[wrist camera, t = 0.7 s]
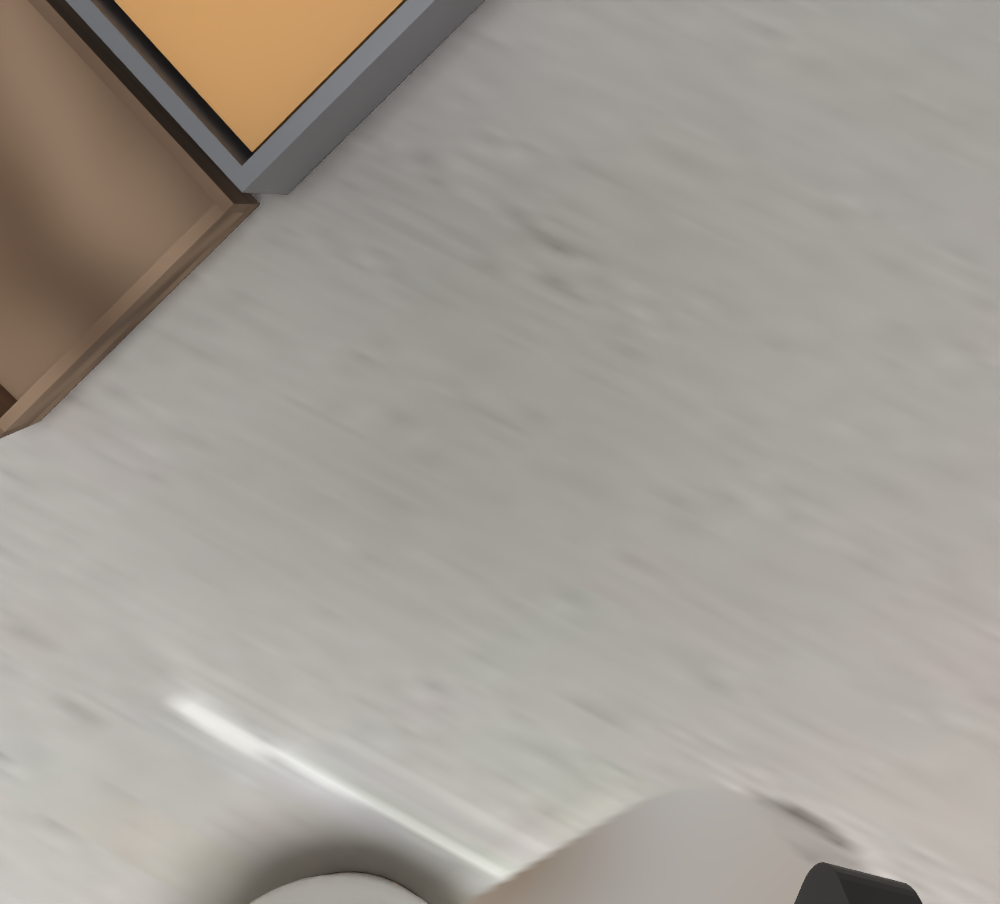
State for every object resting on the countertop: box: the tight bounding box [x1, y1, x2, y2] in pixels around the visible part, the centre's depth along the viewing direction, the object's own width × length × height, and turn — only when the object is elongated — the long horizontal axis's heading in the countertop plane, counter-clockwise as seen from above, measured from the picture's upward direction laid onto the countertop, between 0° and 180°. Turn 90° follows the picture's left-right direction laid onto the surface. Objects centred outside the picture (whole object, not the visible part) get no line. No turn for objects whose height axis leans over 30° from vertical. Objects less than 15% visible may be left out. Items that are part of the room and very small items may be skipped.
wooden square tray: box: [0, 0, 259, 438], centre depth 30 cm, size 11×11×3 cm
